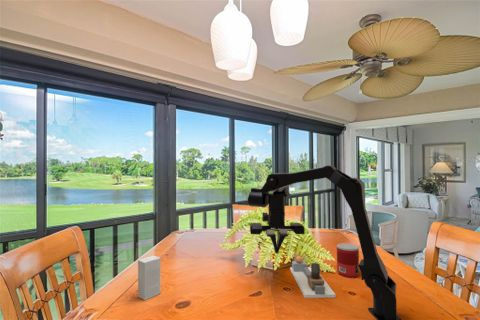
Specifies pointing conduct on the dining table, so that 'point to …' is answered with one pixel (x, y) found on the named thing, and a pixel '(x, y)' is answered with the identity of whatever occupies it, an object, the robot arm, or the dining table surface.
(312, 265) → the carriage
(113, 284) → the dining table surface
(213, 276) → the dining table surface
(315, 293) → the plate
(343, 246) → the canned food
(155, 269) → the skincare box
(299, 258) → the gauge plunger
